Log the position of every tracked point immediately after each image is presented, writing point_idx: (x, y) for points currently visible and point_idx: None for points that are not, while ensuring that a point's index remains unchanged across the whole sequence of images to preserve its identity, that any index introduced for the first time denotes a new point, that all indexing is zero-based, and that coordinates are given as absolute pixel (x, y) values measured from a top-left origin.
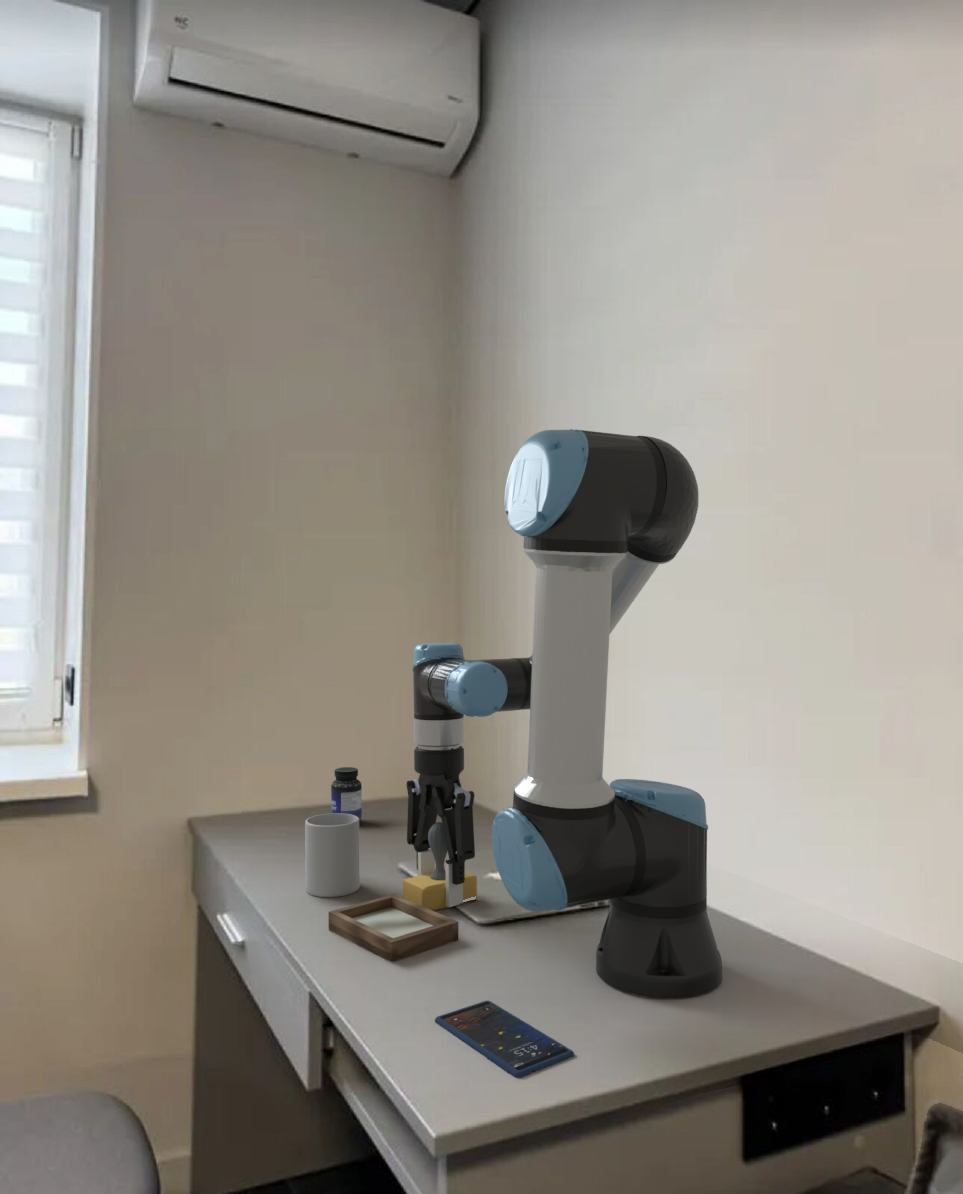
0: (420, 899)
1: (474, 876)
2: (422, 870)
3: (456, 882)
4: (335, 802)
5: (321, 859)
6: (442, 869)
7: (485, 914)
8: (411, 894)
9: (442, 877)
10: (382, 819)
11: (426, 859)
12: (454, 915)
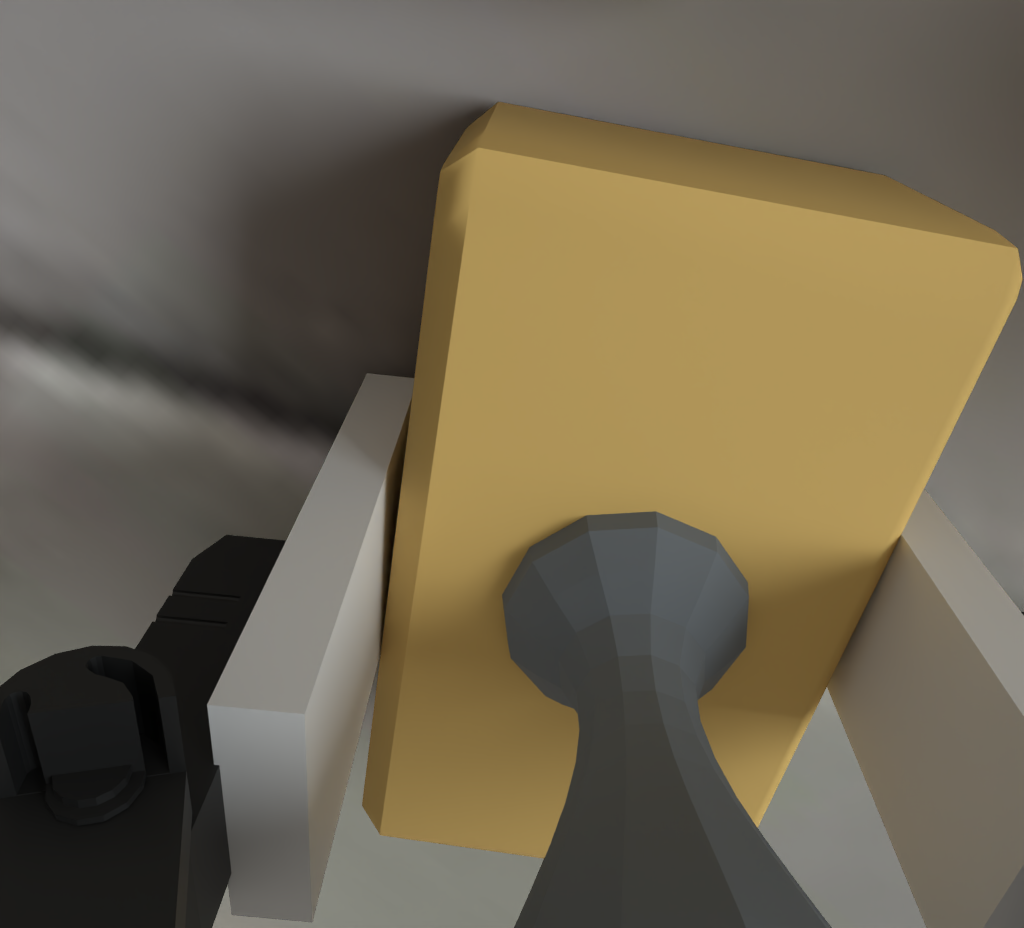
0: (524, 127)
1: (372, 818)
2: (923, 603)
3: (216, 553)
4: None
5: None
6: (572, 686)
7: (103, 499)
8: (742, 167)
9: (527, 589)
10: None
11: (958, 767)
12: (248, 313)
